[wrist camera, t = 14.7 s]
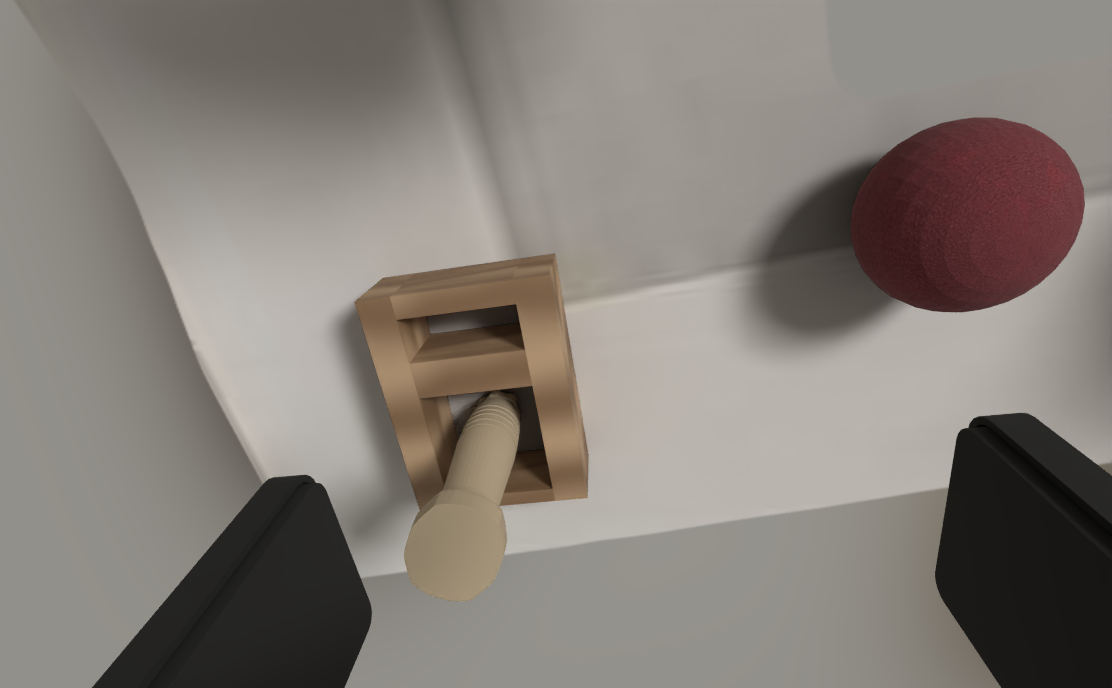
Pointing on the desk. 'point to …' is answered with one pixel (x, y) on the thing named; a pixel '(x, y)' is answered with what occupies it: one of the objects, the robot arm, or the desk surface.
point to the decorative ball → (967, 214)
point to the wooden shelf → (478, 370)
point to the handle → (468, 507)
